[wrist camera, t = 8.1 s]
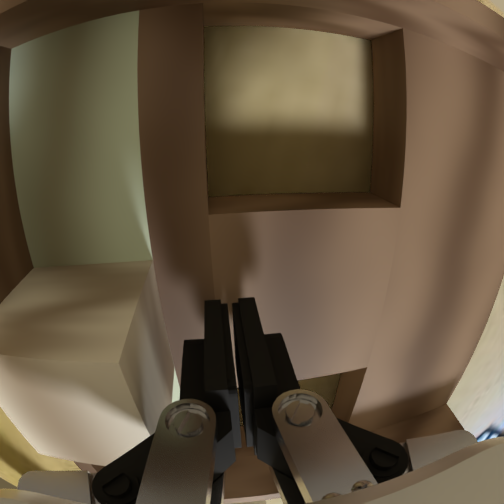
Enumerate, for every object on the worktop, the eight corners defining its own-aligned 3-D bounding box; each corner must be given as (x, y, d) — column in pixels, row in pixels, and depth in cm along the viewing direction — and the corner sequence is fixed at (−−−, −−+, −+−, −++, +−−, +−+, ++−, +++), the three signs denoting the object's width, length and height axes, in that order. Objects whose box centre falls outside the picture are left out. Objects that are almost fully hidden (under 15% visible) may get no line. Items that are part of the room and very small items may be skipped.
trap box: (494, 68, 11) (566, 71, 6) (427, 391, 20) (458, 437, 15) (26, 44, 8) (-53, 23, 3) (120, 435, 17) (111, 499, 12)
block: (153, 260, 10) (119, 363, 5) (174, 367, 12) (168, 470, 7) (33, 267, 9) (-36, 348, 5) (71, 366, 11) (39, 453, 7)
